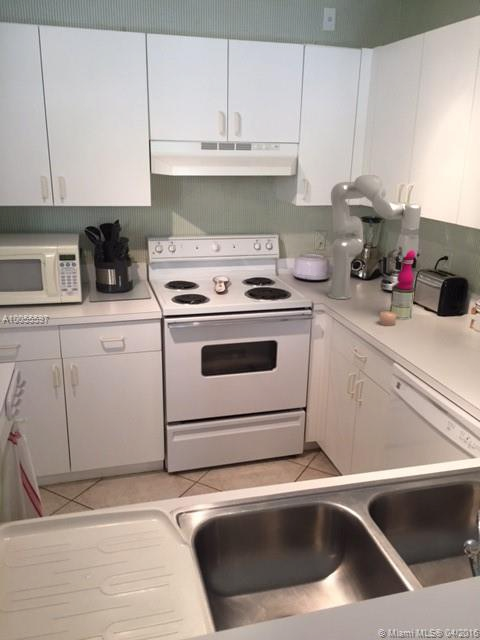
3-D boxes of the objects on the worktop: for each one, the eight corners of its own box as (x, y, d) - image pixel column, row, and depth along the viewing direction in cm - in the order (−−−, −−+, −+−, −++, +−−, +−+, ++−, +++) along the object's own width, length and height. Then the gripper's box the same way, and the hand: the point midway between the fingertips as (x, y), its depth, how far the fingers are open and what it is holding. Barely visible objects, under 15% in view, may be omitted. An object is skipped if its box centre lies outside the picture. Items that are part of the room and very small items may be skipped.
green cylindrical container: (385, 313, 257) (388, 285, 253) (404, 312, 259) (407, 284, 255) (395, 320, 248) (398, 291, 243) (415, 319, 250) (419, 290, 246)
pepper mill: (412, 290, 245) (418, 247, 239) (396, 289, 246) (401, 246, 240) (412, 286, 251) (416, 244, 245) (396, 285, 253) (400, 244, 247)
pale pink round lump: (376, 323, 244) (377, 312, 242) (386, 320, 247) (388, 310, 246) (387, 327, 238) (388, 316, 236) (398, 324, 241) (399, 314, 240)
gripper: (416, 229, 249) (411, 265, 254) (389, 232, 240) (386, 269, 245) (429, 231, 243) (424, 268, 248) (402, 234, 234) (398, 272, 239)
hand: (405, 268), depth 247 cm, fingers open, 9 cm apart
